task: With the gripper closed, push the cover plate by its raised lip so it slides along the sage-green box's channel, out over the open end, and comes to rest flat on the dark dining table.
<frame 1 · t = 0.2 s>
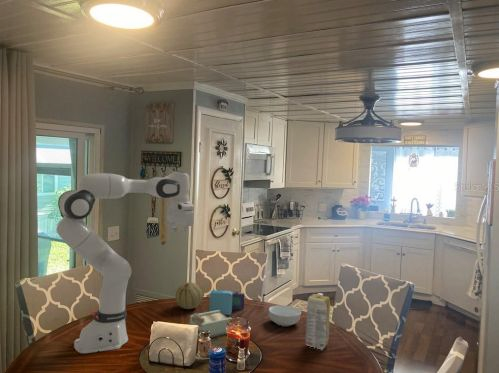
hand: (179, 232, 193), 47 cm above the table, fingers open, 8 cm apart
cover plate: (211, 320, 193), point 5 cm above the table, touching box
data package: (220, 313, 217), on the table
box: (210, 331, 193), on the table
cereal bowl: (284, 323, 207), on the table
juice carton: (316, 346, 181), on the table
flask: (235, 309, 225), on the table
cantaloupe: (188, 308, 223), on the table
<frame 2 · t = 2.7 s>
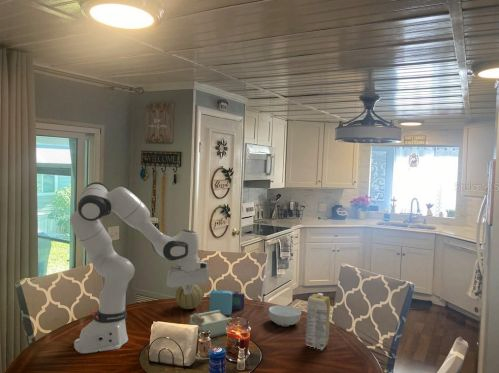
hand: (187, 294, 185), 20 cm above the table, fingers closed
nothing on the table moved.
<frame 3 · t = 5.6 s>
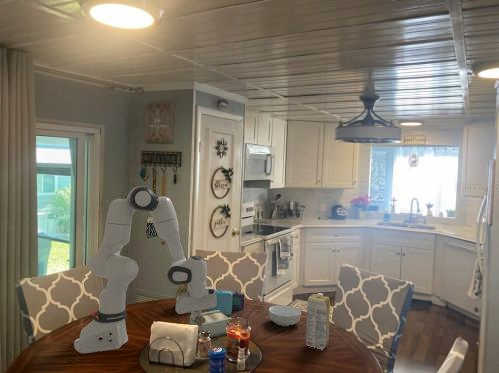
hand: (196, 319, 188), 7 cm above the table, fingers closed
nothing on the table moved.
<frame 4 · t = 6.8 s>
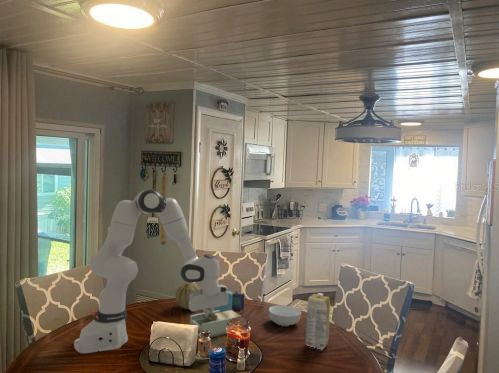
hand: (208, 316, 192), 7 cm above the table, fingers closed
cover plate: (223, 317, 197), point 5 cm above the table, touching gripper
everything else where it was.
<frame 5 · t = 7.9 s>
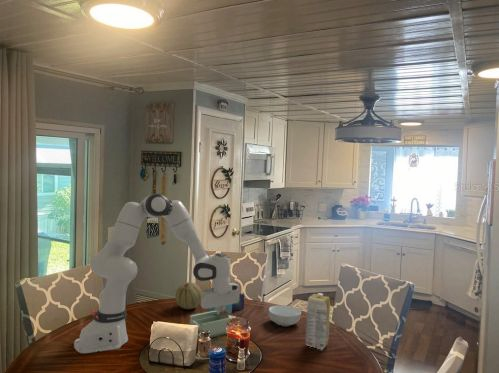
hand: (220, 314, 196), 7 cm above the table, fingers closed
cover plate: (232, 319, 201), point 3 cm above the table, tilted 24°, touching box, gripper
everything else where it was.
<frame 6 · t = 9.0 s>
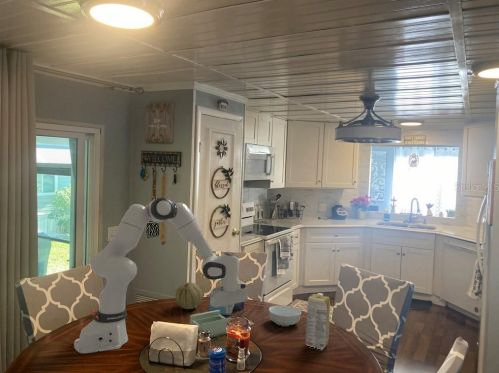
hand: (228, 312, 199), 7 cm above the table, fingers closed
cover plate: (237, 325, 202), on the table
everything else where it was.
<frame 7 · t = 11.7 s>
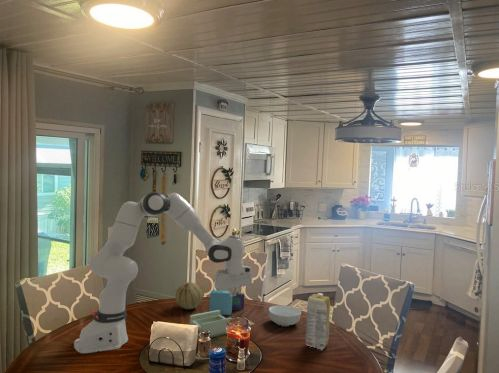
hand: (232, 296, 199), 16 cm above the table, fingers closed
nothing on the table moved.
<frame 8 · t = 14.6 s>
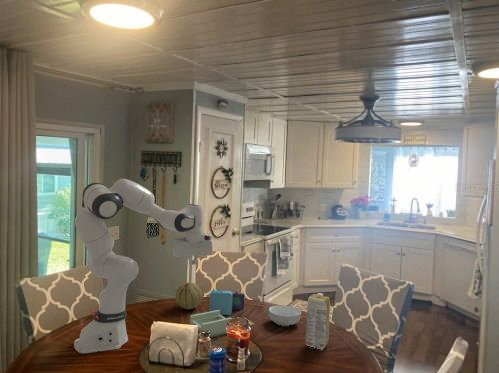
hand: (192, 264, 197), 31 cm above the table, fingers closed
nothing on the table moved.
at the end: cover plate inside the target area (4.9 cm from its centre), on the table; cover plate tilted 0°; cover plate touching table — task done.
